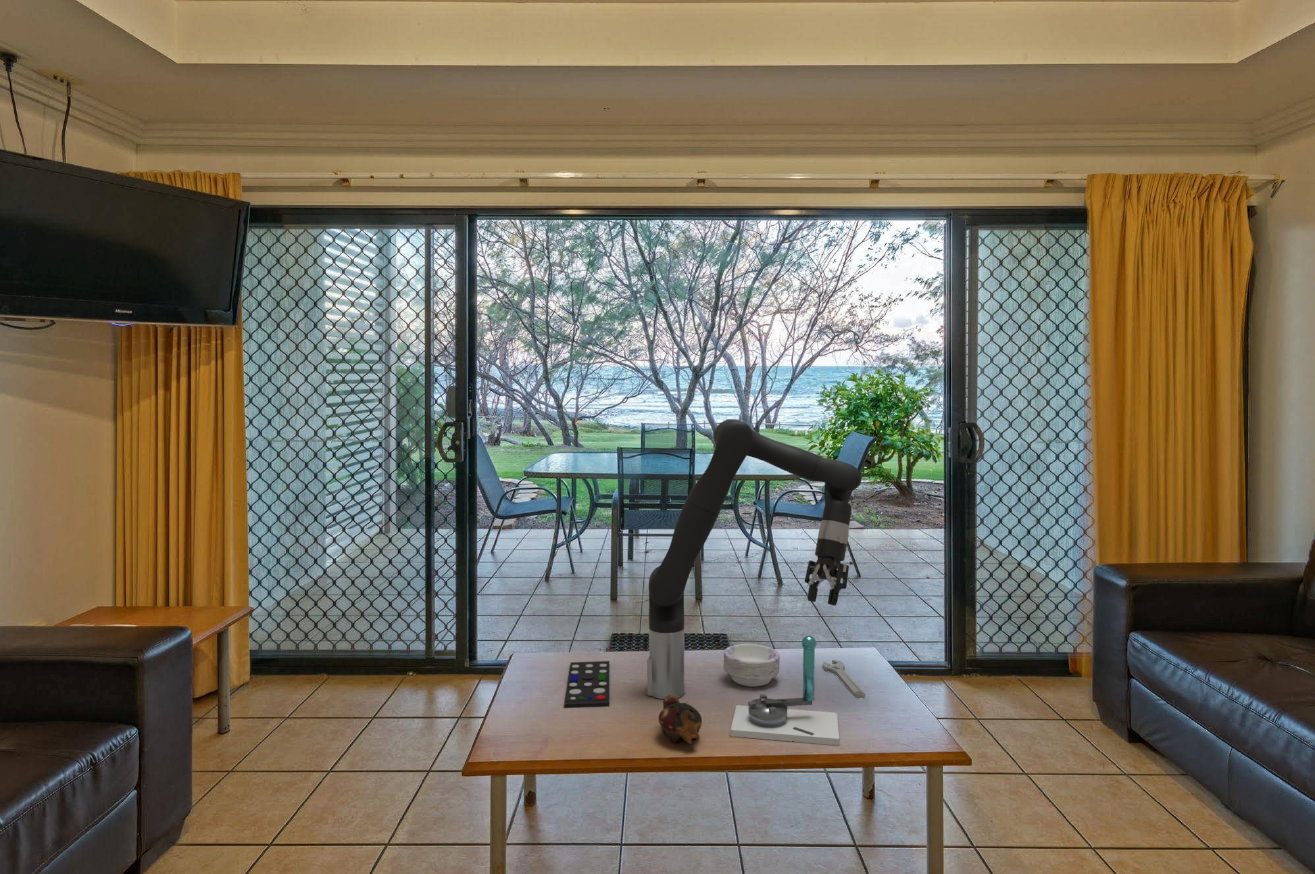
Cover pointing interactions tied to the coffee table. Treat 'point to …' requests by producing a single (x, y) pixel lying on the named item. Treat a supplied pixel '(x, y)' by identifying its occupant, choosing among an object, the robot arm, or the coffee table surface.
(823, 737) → the white rectangular board
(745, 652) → the paper bowls
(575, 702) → the remote control
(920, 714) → the coffee table surface
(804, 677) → the teal handled crank
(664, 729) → the decorative turtle
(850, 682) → the adjustable wrench
